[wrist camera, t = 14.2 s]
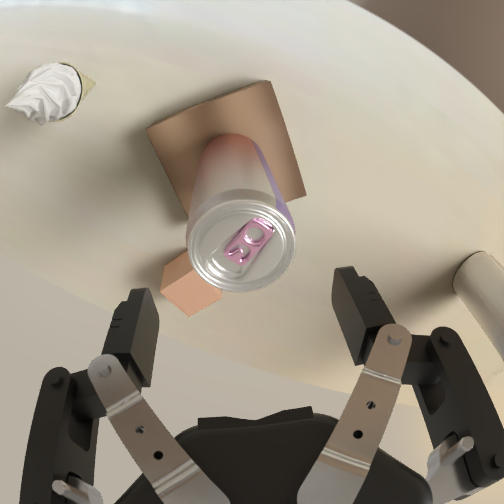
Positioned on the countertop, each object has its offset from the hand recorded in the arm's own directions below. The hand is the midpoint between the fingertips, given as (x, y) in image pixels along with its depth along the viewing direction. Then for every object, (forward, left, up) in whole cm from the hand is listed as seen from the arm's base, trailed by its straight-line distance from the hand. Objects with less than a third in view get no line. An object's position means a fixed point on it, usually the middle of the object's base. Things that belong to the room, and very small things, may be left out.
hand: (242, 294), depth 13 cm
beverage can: (0, 0, -19) cm, 19 cm away
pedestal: (0, 0, -21) cm, 21 cm away
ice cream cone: (+13, -10, -22) cm, 27 cm away
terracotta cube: (+6, +14, -22) cm, 26 cm away
